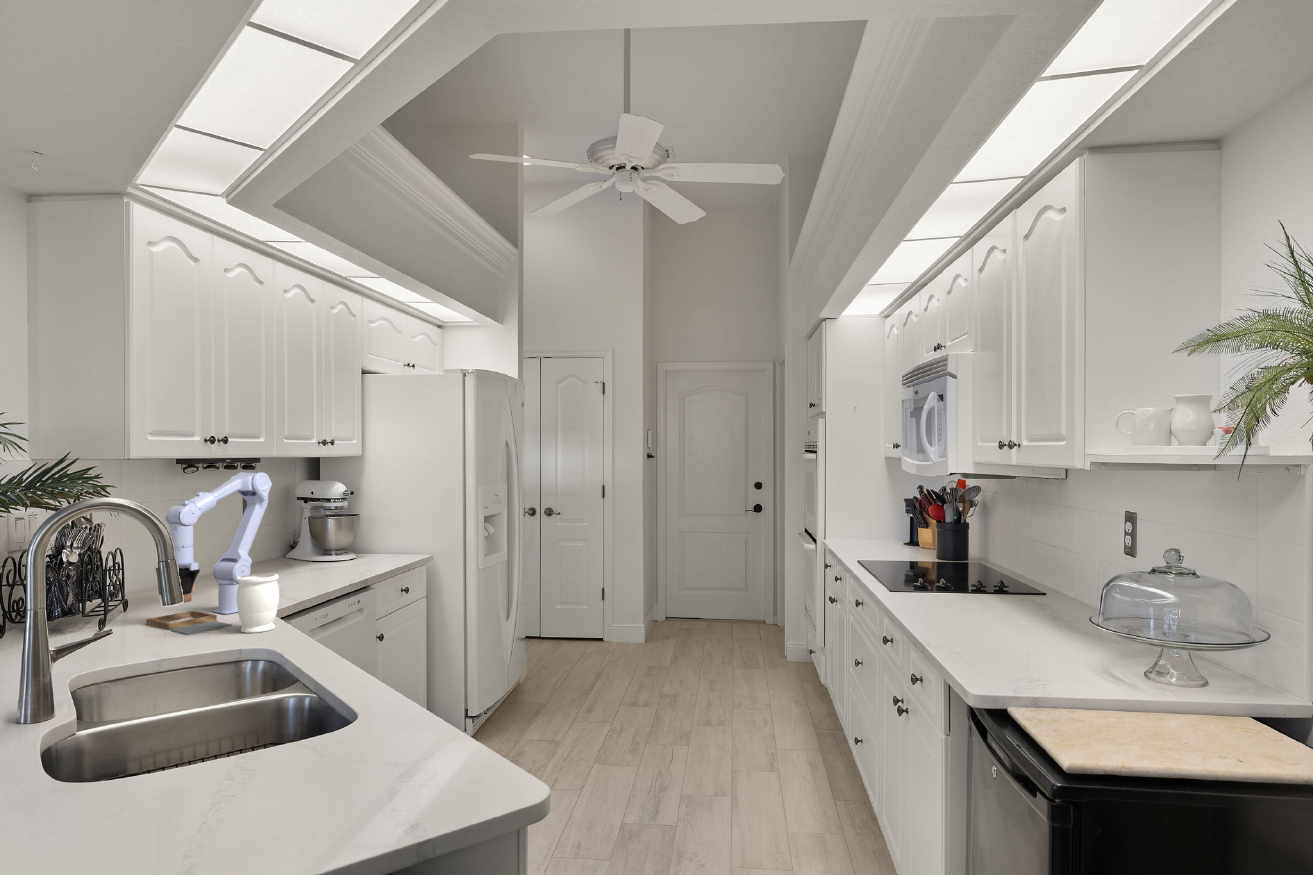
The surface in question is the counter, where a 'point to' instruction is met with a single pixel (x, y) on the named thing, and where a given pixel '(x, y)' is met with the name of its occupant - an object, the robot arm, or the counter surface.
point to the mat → (201, 627)
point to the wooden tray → (199, 618)
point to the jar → (257, 602)
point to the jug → (188, 595)
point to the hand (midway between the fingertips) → (181, 592)
